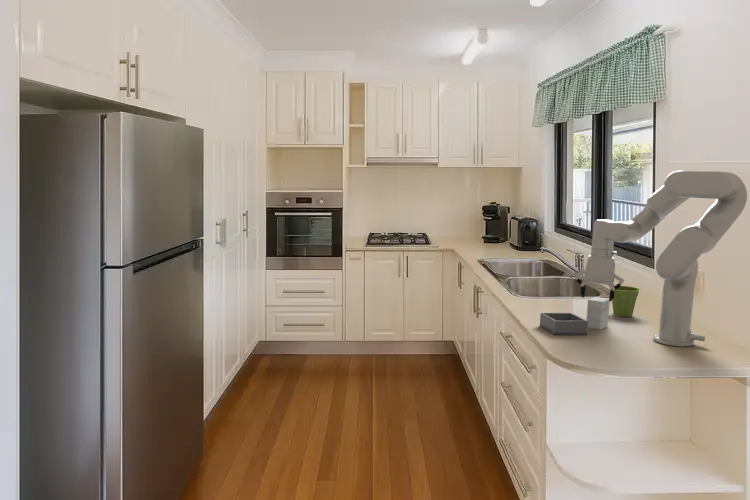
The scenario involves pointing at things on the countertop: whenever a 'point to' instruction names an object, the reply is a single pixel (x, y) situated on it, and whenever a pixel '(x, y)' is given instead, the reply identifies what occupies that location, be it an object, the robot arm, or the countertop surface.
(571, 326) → the crate
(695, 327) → the countertop surface
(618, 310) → the plant pot
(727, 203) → the robot arm
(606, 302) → the small box
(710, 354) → the countertop surface
